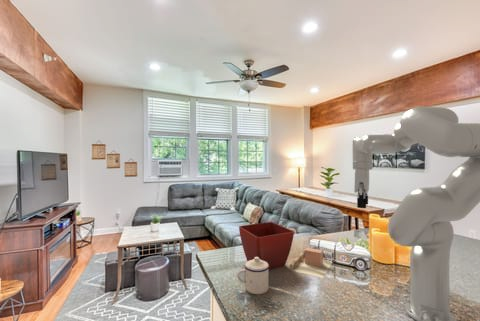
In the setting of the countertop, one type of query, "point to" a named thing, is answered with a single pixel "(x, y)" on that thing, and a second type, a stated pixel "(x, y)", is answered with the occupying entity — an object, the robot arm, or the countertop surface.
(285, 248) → the plant pot
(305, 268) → the cream flat slab
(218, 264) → the countertop surface
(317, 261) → the rust block
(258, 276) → the teacup with lid
